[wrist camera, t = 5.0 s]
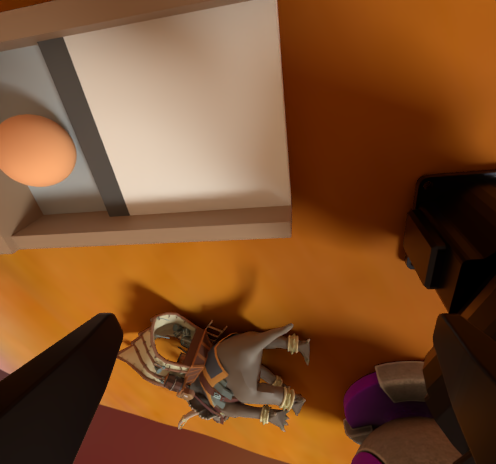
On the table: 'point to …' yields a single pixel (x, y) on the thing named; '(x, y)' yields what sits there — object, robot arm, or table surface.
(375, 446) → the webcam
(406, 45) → the table surface
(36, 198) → the shallow open tray
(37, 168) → the ball
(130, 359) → the figurine
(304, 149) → the table surface
